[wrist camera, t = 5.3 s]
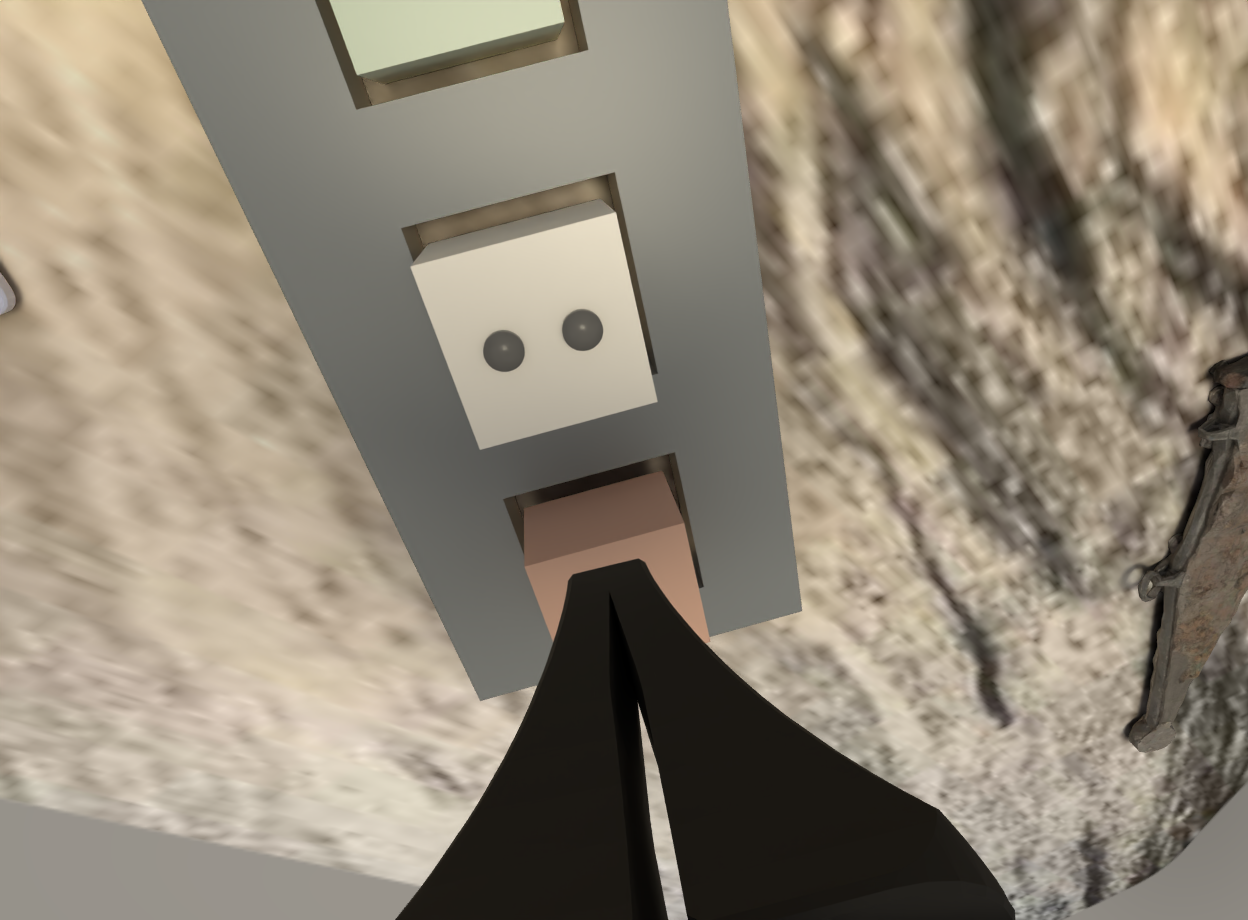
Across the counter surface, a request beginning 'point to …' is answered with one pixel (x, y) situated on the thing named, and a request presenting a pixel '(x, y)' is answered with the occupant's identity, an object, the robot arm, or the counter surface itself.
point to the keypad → (484, 175)
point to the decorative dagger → (1201, 561)
